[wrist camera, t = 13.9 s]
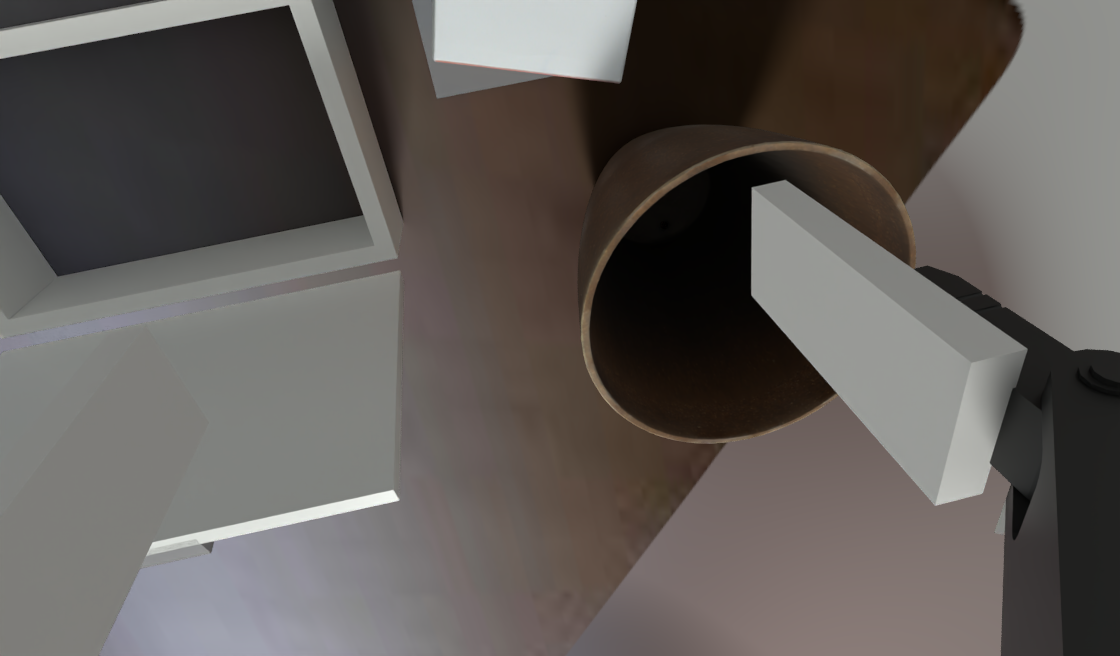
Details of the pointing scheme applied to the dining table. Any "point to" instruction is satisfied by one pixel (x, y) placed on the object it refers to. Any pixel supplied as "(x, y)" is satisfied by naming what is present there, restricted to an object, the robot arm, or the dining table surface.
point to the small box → (535, 36)
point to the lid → (260, 407)
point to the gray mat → (458, 76)
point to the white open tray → (53, 301)
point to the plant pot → (708, 278)
